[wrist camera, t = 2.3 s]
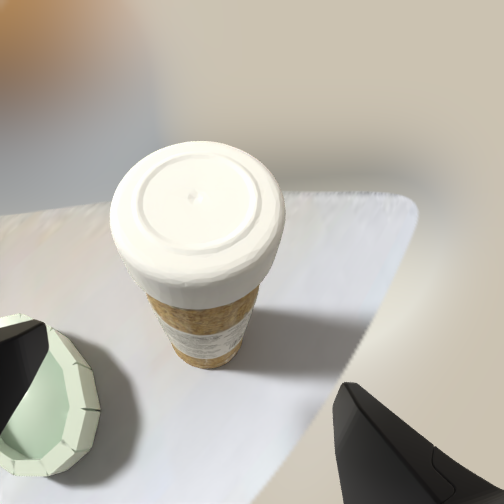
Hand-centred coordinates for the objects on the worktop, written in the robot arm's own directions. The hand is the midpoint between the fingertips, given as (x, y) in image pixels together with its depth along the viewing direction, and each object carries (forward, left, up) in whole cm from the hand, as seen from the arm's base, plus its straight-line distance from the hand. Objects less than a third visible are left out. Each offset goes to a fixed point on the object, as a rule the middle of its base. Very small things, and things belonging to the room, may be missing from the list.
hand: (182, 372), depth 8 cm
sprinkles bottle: (+4, +1, -11) cm, 11 cm away
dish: (-4, +11, -11) cm, 15 cm away
